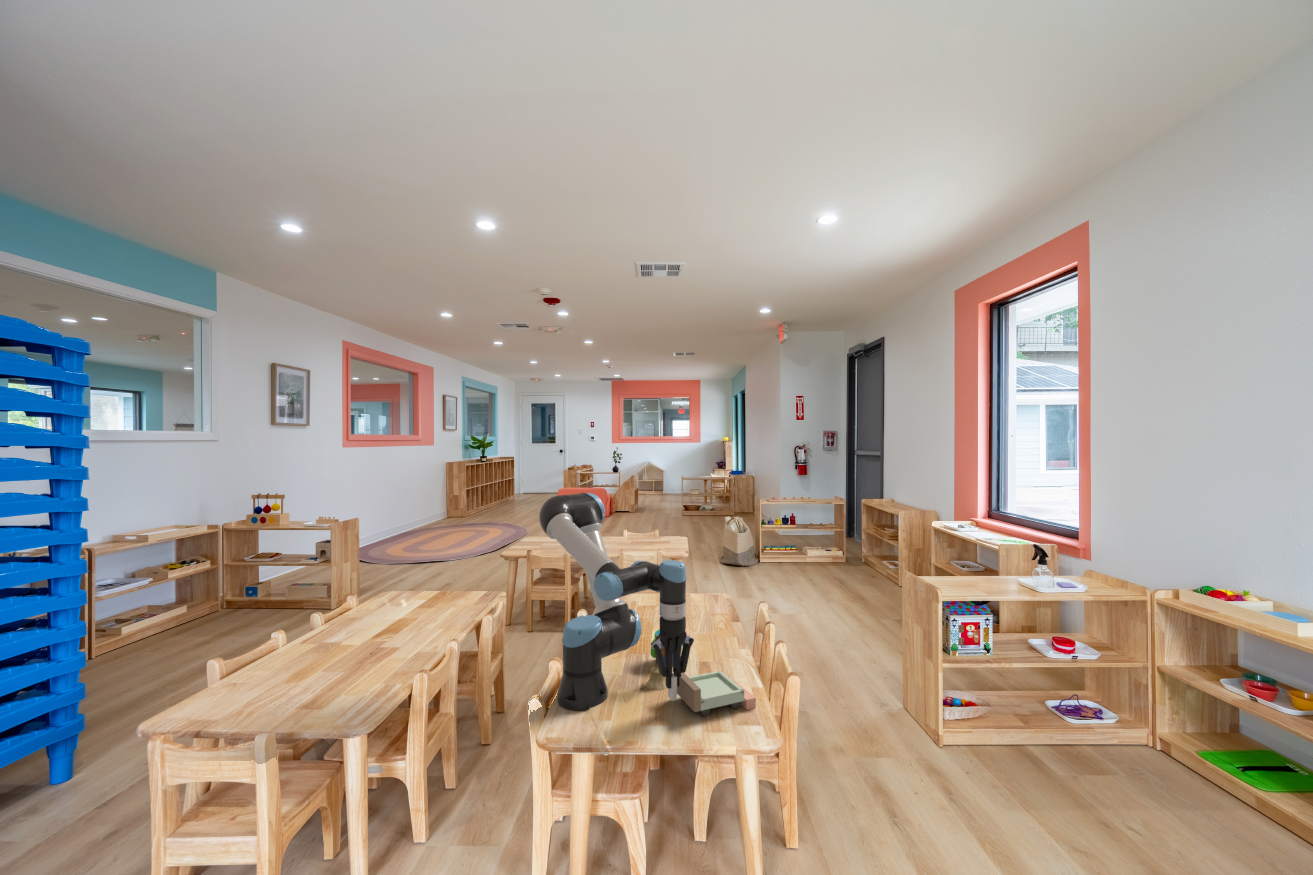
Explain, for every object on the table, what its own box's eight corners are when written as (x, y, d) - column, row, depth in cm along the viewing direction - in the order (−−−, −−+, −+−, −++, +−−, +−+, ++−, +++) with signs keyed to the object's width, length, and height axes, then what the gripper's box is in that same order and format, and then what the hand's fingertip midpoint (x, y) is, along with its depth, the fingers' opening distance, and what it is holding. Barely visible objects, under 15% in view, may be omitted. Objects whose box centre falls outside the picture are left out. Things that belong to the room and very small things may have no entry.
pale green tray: (694, 720, 143) (694, 690, 143) (673, 697, 156) (673, 669, 156) (744, 709, 149) (744, 679, 149) (720, 687, 162) (720, 660, 162)
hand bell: (656, 677, 170) (655, 629, 170) (676, 685, 165) (675, 635, 165) (639, 687, 164) (639, 636, 164) (659, 695, 159) (659, 643, 159)
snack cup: (678, 651, 191) (678, 624, 191) (696, 661, 183) (695, 632, 183) (642, 661, 183) (642, 632, 183) (659, 672, 174) (659, 642, 174)
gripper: (657, 623, 142) (657, 709, 142) (698, 617, 148) (698, 699, 148) (646, 614, 149) (646, 696, 149) (686, 608, 154) (686, 687, 154)
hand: (672, 697), depth 148 cm, fingers closed
